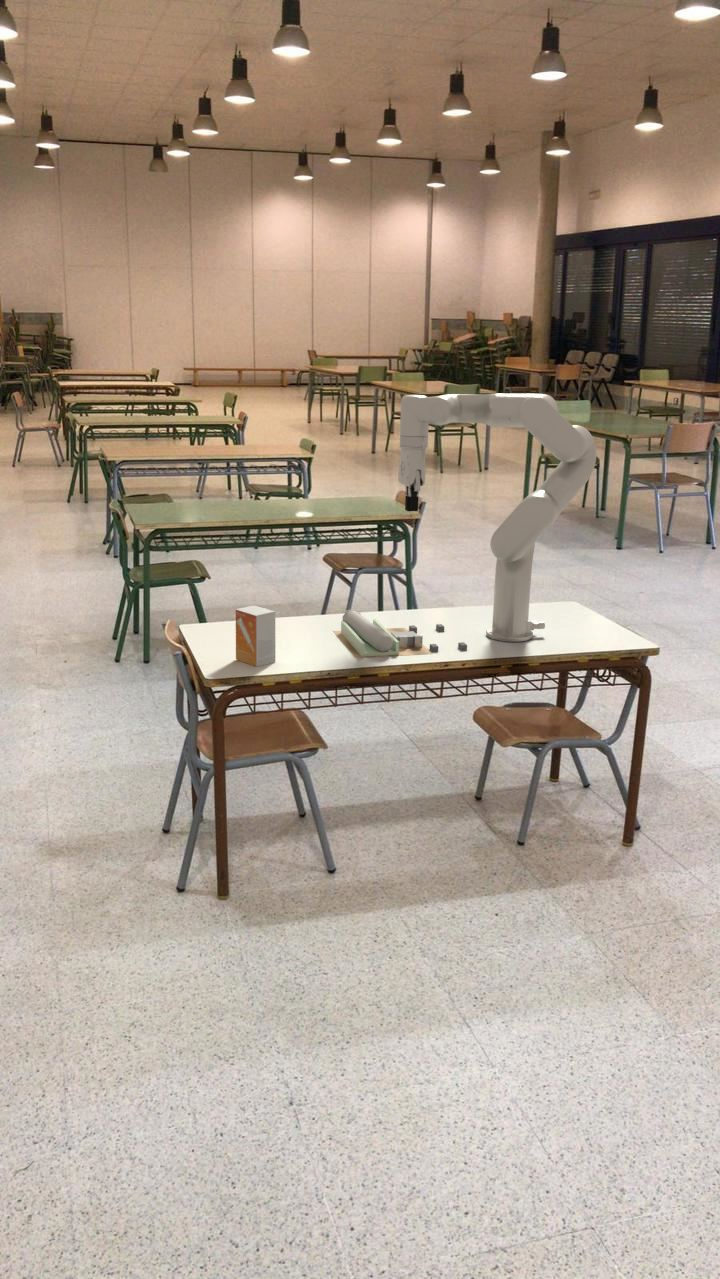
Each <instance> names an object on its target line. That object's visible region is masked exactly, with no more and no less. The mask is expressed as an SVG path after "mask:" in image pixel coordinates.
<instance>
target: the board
mask: <svg viewBox="0 0 720 1279" xmlns="http://www.w3.org/2000/svg"><path fill="white" fill-rule="evenodd" d="M386 629H387V630H388V631H389V632H390V633H391V632H408V631H409V629H406V627H393V628H392V627H391V628H386ZM332 632H333V633H334V635H336V637H337V638H338V639H339V640H340V641H341V642H342V643H343V645H344V646H345V647H346V648H347V650H348V651H349V652H350V653H351V654H352V655H353V657H354V658H355V659H366V658H367V659H369V658H385V657H387V658H388V657H389V658H390V657H402V656H403V657H404V656H405V657H406V656H422V655H425V656H426V655H434V652H432V651H431V650H430V649H428V648H427V647H426V646H425V645H424V644H423V643H422V647H420V648H414V647H413V646H407V648H402V649H400V648H399V655H381V656H363V657H362V656H361V655H360V654H359V653H358V652H357V651H356V649H355V648H354V647H353V646H352V645H351V644H350V643H349V641H348V640H347V639H346V638H345V637H344V636H343V635H342V633H341V630H333V631H332Z"/></svg>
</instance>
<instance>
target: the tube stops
mask: <svg viewBox="0 0 720 1279" xmlns="http://www.w3.org/2000/svg"><path fill="white" fill-rule="evenodd" d="M435 630H437V631H438V632H445V625H443V624H441V623H438V624H435ZM408 631H414V632H415V633H416V634H417V633H418V627H417V626H416V625H414V624H413V625H408ZM457 647H458V649H459V650H460V651H468V644H467V643H466V642H464V641H462V642H458V645H457ZM429 650H430V651H431V652H432V653H438V652H439V646H438V644H436V643H430V644H429Z"/></svg>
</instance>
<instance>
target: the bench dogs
mask: <svg viewBox="0 0 720 1279" xmlns="http://www.w3.org/2000/svg"><path fill="white" fill-rule="evenodd" d="M423 637H424V636H423V635H422V634H417V635H413V647H414V648H420V647H422V644H423V639H424V638H423ZM398 641H399V648H400V649H402V648H407V641H408V637H407V636H406V635H402V636H398Z"/></svg>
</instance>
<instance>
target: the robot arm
mask: <svg viewBox="0 0 720 1279" xmlns="http://www.w3.org/2000/svg"><path fill="white" fill-rule="evenodd" d="M558 410H559V408H558V404H557V402H556V400H555V399H554V397H552V396H551V395H548V394H545V393H544V394H543V393H489V394H487V393H486V394H474V393H473V394H467V393H466V394H465V393H464V394H463V393H462V394H461V393H460V394H459V393H458V394H455V393H451V394H442V395H437V396H435V395H434V396H426V395H425V394H424V395H423V394H405V395H403V396H402V398H401V400H400V420H399V423H400V424H399V425H400V426H399V448H400V453H399V460H398V461H399V462H398V475H397V480H398V482H399V483H400V484H402V485H403V486H404V487H405V489H404V492H405V493H404V494H405V496H404V497H405V500H404V504H405V505H404V511H406V512H417V511H419V497H420V491H421V487H423V486H424V485H425V482H426V450H427V449H429V428H430V427H429V425H434V426H444V425H448V424H454V423H455V424H457V423H465V424H468V423H470V424H471V423H472V424H482V425H483V424H484V425H486V426H489V427H493V428H525V429H526V430H527V431H528V432H529V434H531V435H532V437H533V438H534V439H536V440H537V441H538V442H539V443H540V444H541V445H542V446H543V447H544V448H545V449H546V450H547V451H548V452H549V453H550V454H551V455H552V456H554V458H555V459H557V460H559V464H558V465H557V466H556V467H555V469H553V471H551V473H550V474H549V475H548V477H547V478H546V479H545V480H544V481H543V482H542V483H541V484H540V486H539V487H538V488H536V489H535V491H533V492H531V493H530V494H528V495H527V496H526V497H525V498H523V499H522V501H520V502H519V504H517V506H516V507H515V508H514V509H513V511H511V513H510V514H509V515H508V516H507V517H506V518H505V519H504V520H503V521H502V523H501V524H500V525H499V526H498V528H496V530H495V531H494V532H493V533H492V535H491V538H490V549H491V553H492V554H493V556H494V557H495V558H496V563H495V564H496V565H495V574H494V591H493V592H494V593H493V607H492V608H493V609H492V610H493V611H492V623H491V625H492V626H491V627H489V628H487V629H486V630H485V631H486V632H485V635H486V636H487V637H488V638H490V639H492V640H497V641H500V642H513V643H516V642H526V641H530V640H531V639H533V637H534V633H533V631H534V630H536V629H537V630H545V628H546V623H545V622H544V621H537V620H531V619H529V612H530V602H531V601H530V600H531V599H530V597H531V584H532V582H531V581H532V573H533V572H532V570H533V561H534V553H535V546H536V542H538V540H539V539H540V538H541V536H542V535H544V533H545V532H546V531H547V530H548V529H549V527H551V525H553V524H554V523H555V522H556V521H557V519H558V518H559V516H560V514H561V513H562V512H563V511H564V510H565V509H566V507H567V506H568V505H569V504H571V502H572V500H573V499H574V498H575V497H576V495H577V494H578V493H579V492H580V491H581V490H582V488H583V487H585V485H586V484H587V482H588V480H589V479H590V478H591V476H592V474H593V472H594V469H595V466H596V463H597V447H596V443H595V440H594V438H593V435H592V434H591V433H590V431H589V430H588V429H587V428H586V427H584V426H581V425H579V424H571V423H570V422H569V421H568V420H567V419H566V418H565V417H564V416H563V415H562V414H561V413H560V412H559V411H558Z"/></svg>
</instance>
